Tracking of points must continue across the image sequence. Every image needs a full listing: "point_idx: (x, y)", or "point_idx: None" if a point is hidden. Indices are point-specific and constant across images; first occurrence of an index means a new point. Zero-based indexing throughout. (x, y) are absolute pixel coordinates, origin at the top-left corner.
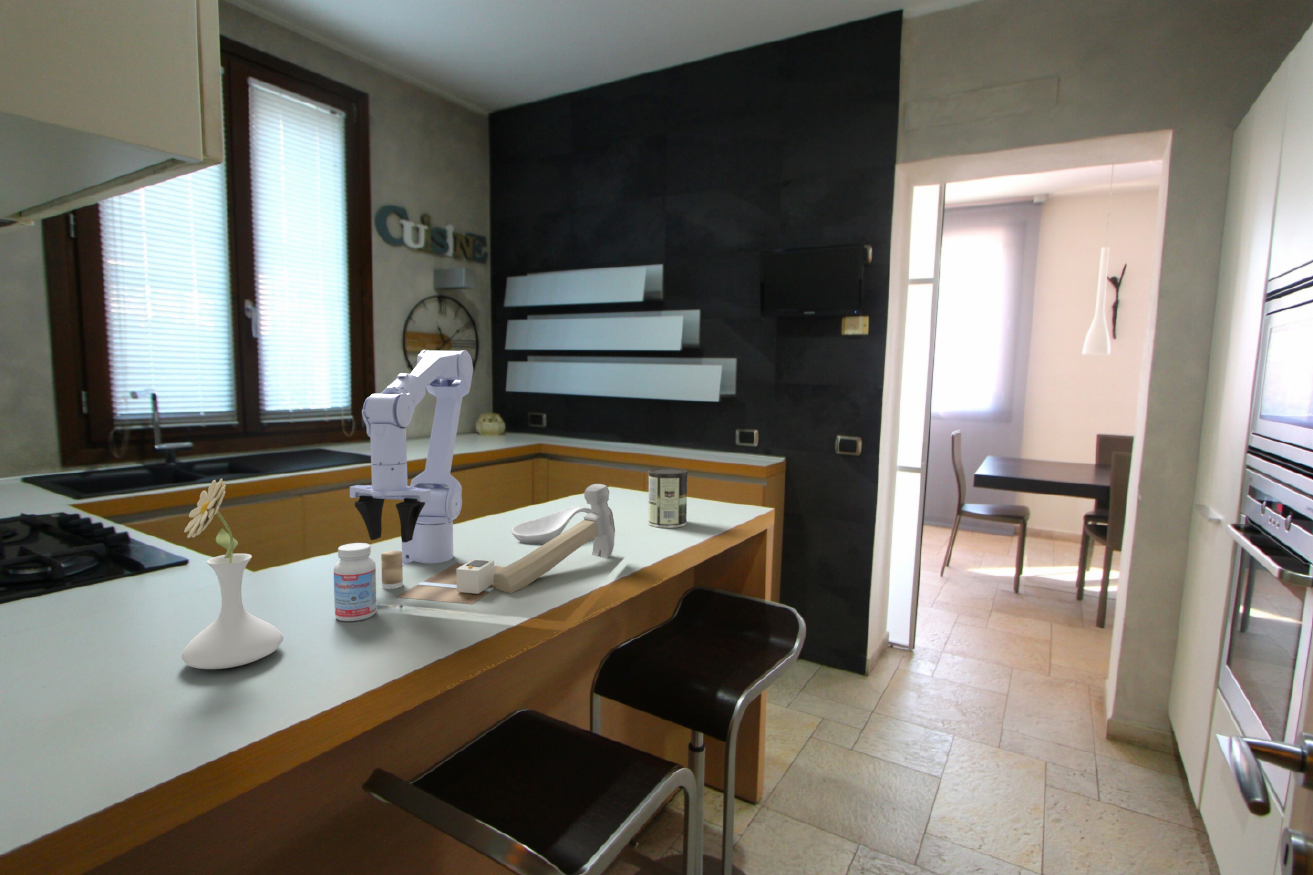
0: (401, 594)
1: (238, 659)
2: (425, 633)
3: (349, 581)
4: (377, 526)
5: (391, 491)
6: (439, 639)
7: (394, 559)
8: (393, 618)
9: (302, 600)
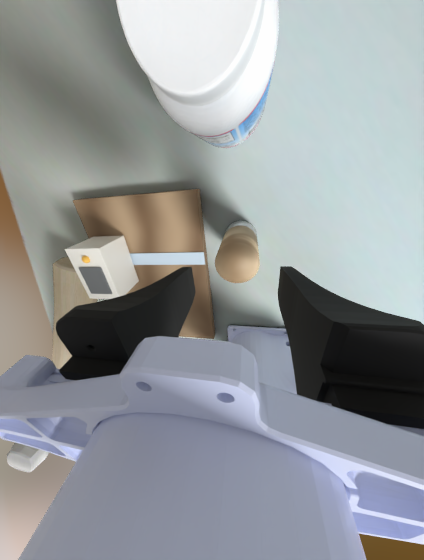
0: (195, 204)
1: None
2: (55, 73)
3: None
4: (285, 305)
5: (95, 408)
6: (16, 57)
7: (220, 247)
8: (153, 120)
9: (398, 137)
